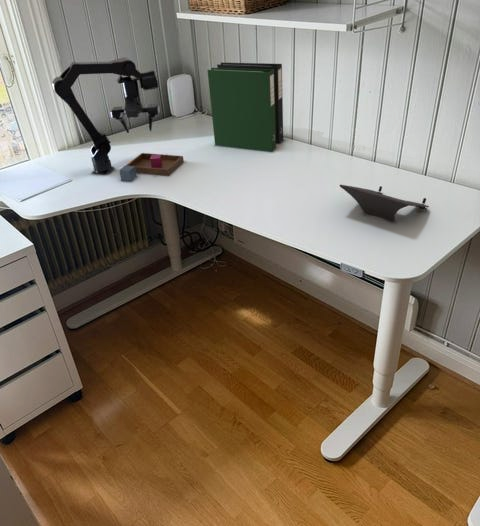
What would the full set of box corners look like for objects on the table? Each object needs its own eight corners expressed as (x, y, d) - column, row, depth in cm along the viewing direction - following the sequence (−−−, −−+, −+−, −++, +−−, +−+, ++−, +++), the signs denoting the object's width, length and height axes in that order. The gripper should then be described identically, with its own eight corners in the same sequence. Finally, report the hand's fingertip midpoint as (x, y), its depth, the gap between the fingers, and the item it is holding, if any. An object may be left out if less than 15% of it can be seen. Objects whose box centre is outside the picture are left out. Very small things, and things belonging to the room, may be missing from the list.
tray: (126, 172, 198) (124, 166, 196) (143, 158, 208) (141, 152, 207) (168, 175, 192) (167, 169, 190) (183, 161, 202) (182, 155, 201)
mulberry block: (151, 168, 198) (149, 158, 195) (153, 164, 201) (151, 155, 199) (161, 167, 197) (159, 158, 195) (162, 163, 201) (161, 154, 198)
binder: (214, 146, 214) (206, 70, 196) (228, 134, 225) (222, 61, 207) (271, 151, 204) (269, 72, 186) (283, 139, 215) (282, 63, 197)
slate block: (121, 180, 191) (119, 170, 188) (127, 175, 194) (125, 165, 192) (131, 181, 190) (129, 170, 187) (137, 176, 193) (134, 166, 190)
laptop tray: (427, 228, 157) (436, 201, 155) (401, 228, 139) (411, 197, 137) (364, 209, 170) (371, 183, 168) (332, 206, 153) (341, 177, 150)
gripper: (103, 100, 183) (112, 140, 191) (152, 97, 182) (159, 137, 191) (110, 92, 192) (118, 130, 201) (156, 88, 191) (163, 127, 200)
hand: (139, 131), depth 198 cm, fingers open, 9 cm apart
